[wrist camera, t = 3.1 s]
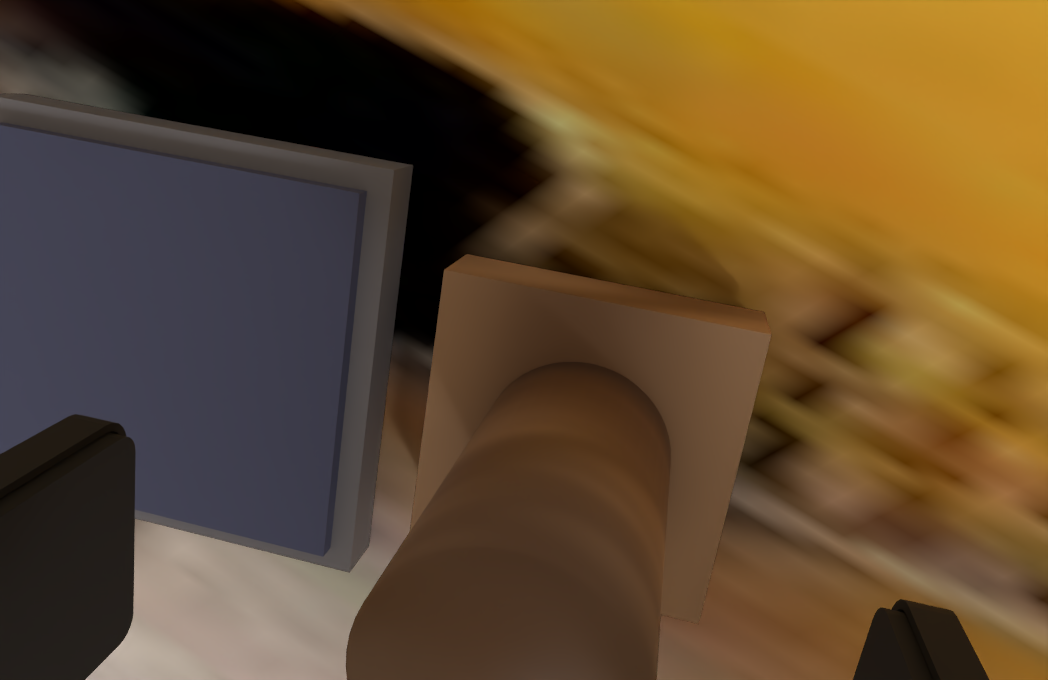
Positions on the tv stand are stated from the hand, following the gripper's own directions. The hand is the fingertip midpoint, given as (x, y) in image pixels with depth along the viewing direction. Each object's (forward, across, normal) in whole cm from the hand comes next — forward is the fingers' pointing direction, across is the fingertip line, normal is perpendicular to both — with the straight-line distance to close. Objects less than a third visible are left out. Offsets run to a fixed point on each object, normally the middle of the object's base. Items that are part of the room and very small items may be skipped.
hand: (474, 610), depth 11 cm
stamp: (+8, -1, 0) cm, 9 cm away
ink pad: (+9, +8, 0) cm, 12 cm away
